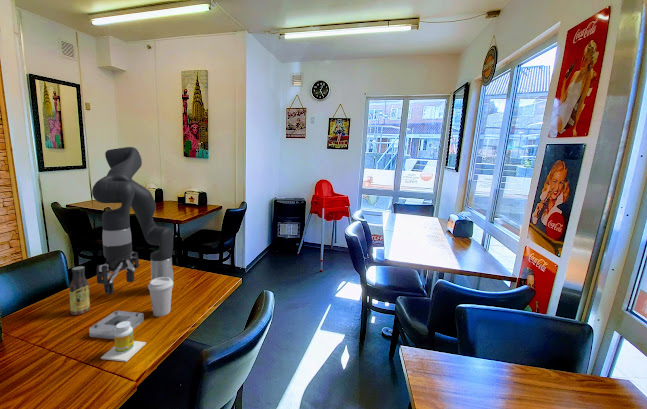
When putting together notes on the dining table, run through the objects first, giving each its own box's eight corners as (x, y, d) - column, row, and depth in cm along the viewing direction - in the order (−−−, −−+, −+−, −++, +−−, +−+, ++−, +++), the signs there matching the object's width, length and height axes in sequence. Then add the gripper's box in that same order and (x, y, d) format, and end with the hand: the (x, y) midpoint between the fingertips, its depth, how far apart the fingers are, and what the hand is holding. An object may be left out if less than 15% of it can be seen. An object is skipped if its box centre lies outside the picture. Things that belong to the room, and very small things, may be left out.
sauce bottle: (78, 317, 110) (74, 272, 107) (66, 314, 111) (62, 270, 108) (94, 308, 117) (91, 266, 113) (83, 306, 118) (79, 264, 115)
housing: (116, 318, 111) (116, 309, 110) (143, 321, 110) (143, 312, 110) (89, 336, 99) (89, 327, 99) (120, 339, 99) (119, 330, 98)
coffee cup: (179, 310, 119) (178, 279, 117) (158, 321, 111) (157, 287, 108) (165, 304, 123) (164, 274, 121) (144, 314, 115) (142, 282, 112)
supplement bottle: (117, 345, 95) (115, 321, 93) (135, 342, 97) (133, 318, 95) (113, 356, 90) (111, 330, 88) (132, 351, 92) (131, 326, 91)
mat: (122, 341, 98) (122, 339, 98) (145, 343, 97) (145, 342, 97) (101, 358, 89) (100, 357, 89) (126, 361, 89) (126, 360, 88)
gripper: (124, 234, 94) (126, 277, 97) (86, 247, 80) (90, 296, 83) (144, 236, 94) (146, 279, 96) (109, 249, 80) (113, 299, 82)
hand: (120, 287), depth 89 cm, fingers open, 8 cm apart
